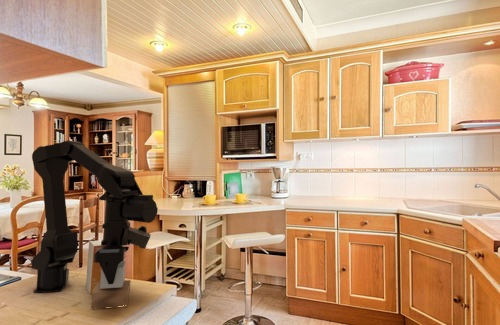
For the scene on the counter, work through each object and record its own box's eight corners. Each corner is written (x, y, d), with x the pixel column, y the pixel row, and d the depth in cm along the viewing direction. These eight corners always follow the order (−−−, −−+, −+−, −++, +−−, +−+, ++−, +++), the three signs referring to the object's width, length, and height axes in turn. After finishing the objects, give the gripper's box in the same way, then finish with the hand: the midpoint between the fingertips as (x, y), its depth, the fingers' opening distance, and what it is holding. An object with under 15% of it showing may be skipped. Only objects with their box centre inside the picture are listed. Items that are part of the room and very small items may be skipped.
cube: (100, 288, 72) (101, 268, 72) (103, 281, 77) (105, 261, 77) (122, 287, 74) (123, 267, 74) (124, 280, 78) (125, 261, 79)
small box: (89, 295, 79) (93, 245, 79) (85, 287, 84) (88, 240, 84) (121, 288, 84) (124, 242, 84) (115, 281, 89) (118, 237, 89)
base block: (90, 309, 71) (91, 292, 71) (96, 297, 77) (97, 281, 77) (126, 306, 73) (127, 290, 73) (129, 295, 80) (130, 280, 80)
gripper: (148, 225, 69) (144, 292, 69) (150, 213, 87) (147, 267, 86) (95, 225, 66) (91, 296, 65) (109, 213, 84) (105, 268, 83)
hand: (112, 280), depth 75 cm, fingers closed on cube, 5 cm apart
